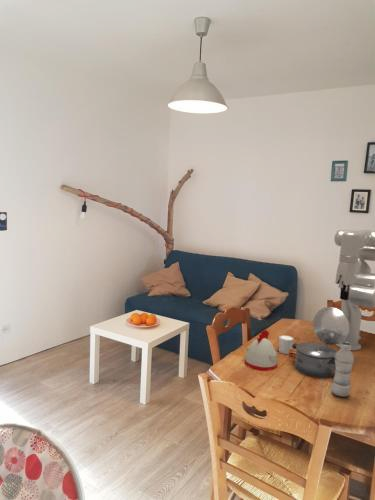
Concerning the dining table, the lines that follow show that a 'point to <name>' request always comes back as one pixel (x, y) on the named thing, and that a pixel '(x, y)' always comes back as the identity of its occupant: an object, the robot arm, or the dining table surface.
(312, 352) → the cooker pot
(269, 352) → the kitchen timer
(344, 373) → the plastic bottle
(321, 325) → the cooker lid
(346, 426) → the dining table surface
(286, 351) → the white cylinder
